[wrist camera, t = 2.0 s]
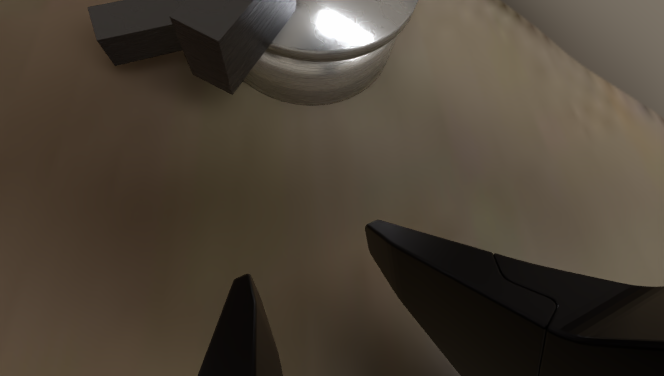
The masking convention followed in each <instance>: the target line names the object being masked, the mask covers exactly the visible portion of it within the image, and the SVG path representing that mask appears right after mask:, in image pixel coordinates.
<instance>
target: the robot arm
mask: <svg viewBox="0 0 664 376" xmlns="http://www.w3.org/2000/svg"><path fill="white" fill-rule="evenodd" d="M365 231H366V237H367V242H368V248H369V251H370V253H371V255H372V257H373V258H374V260H375V262H376V263H377V265H378V266H379V268H380V270H381V271H382V273H383V274H384V276H385V278H386V279H387V281H388V282H389V284H390V286H391V287H392V289H393V290H394V292H395V293H396V295H397V296H398V298H399V299H400V300H401V302H402V303H403V304H404V306H405V307H406V308H407V309H408V311H409V312H410V313H411V314H412V316H413V317H414V318H415V319H416V321H417V322H418V323H419V324H420V326H421V327H422V328H423V329H424V330H425V332H426V333H427V334H428V335H429V337H430V338H431V339H432V340H433V342H434V343H435V344H436V345H437V347H438V348H439V349H440V350H441V352H442V353H443V354H444V355H445V357H446V358H447V359H448V360H449V362H450V363H451V364H452V365H453V367H454V368H455V369H456V370H457V372H458V373H459V374H460V375H461V376H664V286H663V287H646V286H635V285H629V284H623V283H618V282H614V281H609V280H604V279H600V278H595V277H590V276H586V275H581V274H576V273H572V272H567V271H562V270H558V269H553V268H549V267H545V266H540V265H536V264H532V263H528V262H524V261H521V260H517V259H513V258H510V257H506V256H503V255H499V254H496V253H495V254H494V255H493V253H492V252H489V251H485V250H482V249H478V248H475V247H471V246H468V245H464V244H461V243H457V242H454V241H450V240H447V239H444V238H440V237H437V236H433V235H430V234H426V233H423V232H419V231H416V230H412V229H409V228H405V227H402V226H399V225H395V224H392V223H388V222H385V221H381V220H376V221H373V222H371V223H368V224H367V225H366V226H365ZM198 376H283V374H282V369H281V363H280V359H279V354H278V351H277V347H276V344H275V341H274V338H273V335H272V332H271V329H270V325H269V322H268V319H267V316H266V313H265V310H264V307H263V304H262V301H261V298H260V296H259V293H258V291H257V288H256V286H255V284H254V281H253V279H252V277H251V275H250V274H245V275H243V276H241V277H238V278H236V279H235V280H234V281H233V284H232V286H231V289H230V291H229V294H228V297H227V299H226V302H225V305H224V307H223V310H222V313H221V315H220V318H219V321H218V323H217V326H216V329H215V331H214V334H213V337H212V339H211V342H210V344H209V347H208V350H207V352H206V355H205V358H204V360H203V363H202V366H201V368H200V371H199V374H198Z"/></svg>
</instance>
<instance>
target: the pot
mask: <svg viewBox="0 0 664 376" xmlns="http://www.w3.org/2000/svg"><path fill="white" fill-rule="evenodd" d="M184 1H185V0H123V1H117V2H112V3H107V4H102V5H96V6H91V7H88V11H89V14H90V18H91V21H92V25H93V28H94V32H95V35H96V39H97V41H98V43H99V44H100V45H101V47H102V48H103V50H104V51H105V52H106V54H107V55H108V57H109V58H110V59H111V61H112V62H113V64H114V65H115V66H117V65H121V64H125V63H130V62H134V61H138V60H142V59H147V58H151V57H155V56H159V55H164V54H168V53H172V52H177V51H181V50H183V49H182V47H181V44H180V42H179V39H178V37H177V34H176V32H175V29H174V27H173V24H172V22H171V20H170V17H169V16H170V15H171V14H172V13H173V12H174V11H175V10H176V9H177V8H178V7H179V6H180V5H181V4H182V3H183V2H184ZM396 37H397V36H396ZM396 37H395V38H394V39H393V40H391V41H390V42H389V43H388V44H386V45H385V46H383V47H381V48H379V49H377V50H376V51H374V52H371V53H368V54H366V55H363V56H360V57H356V58H352V59H348V60H341V61H334V62H312V61H301V60H296V59H291V58H286V57H282V56H279V55H276V54H272V53H269V52H267V51H265V52H264V53H263V55H262V56H261V57H260V59H259V60H258V61H257V63H256V64H255V65H254V67H253V68H252V69H251V71H250V72H249V73H248V75H247V76H246V77H245V79H244V81H245V82H246V83H248V84H249V85H250V86H252V87H253V88H255V89H256V90H258V91H259V92H261V93H263V94H265V95H267V96H270V97H272V98H275V99H278V100H281V101H284V102H288V103H293V104H300V105H325V104H332V103H336V102H340V101H343V100H346V99H349V98H351V97H353V96H355V95H357V94H359V93H361V92H362V91H364V90H365V89H366V88H368V87H369V86H370V85H371V84H372V83H373V82H374V81H375V80H376V79H377V77H378V76H379V75H380V73H381V72H382V70H383V68H384V66H385V64H386V62H387V59H388V57H389V54H390V52H391V49H392V47H393V45H394V42H395V40H396Z"/></svg>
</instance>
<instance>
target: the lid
mask: <svg viewBox="0 0 664 376" xmlns="http://www.w3.org/2000/svg"><path fill="white" fill-rule="evenodd" d="M417 2H418V0H185V1H184V2H183V3H182V4H181V5H180V6H179V7H178V8H177V9H176V10H175V11H174V12H173V13H172V14H171V15H170V16H169V17H170V20H171V22H172V24H173V27H174V29H175V32H176V34H177V37H178V39H179V42H180V44H181V47H182V49H183V52H184V54H185V57H186V59H187V62H188V64H189V66H190V69H191V71H192V74H193V75H194V76H196V77H198V78H200V79H202V80H204V81H206V82H208V83H210V84H212V85H214V86H216V87H218V88H220V89H222V90H224V91H226V92H228V93H230V94H232V95H233V93H234V92H235V91H236V89H237V88H238V87H239V85H240V84H241V83H242V81H243V80H244V79H245V77H246V76H247V75H248V73H249V72H250V71H251V69H252V68H253V67H254V65H255V64H256V63H257V61H258V60H259V59H260V57H261V56H262V55H263V53H264V52H265V51H267V52H269V53H272V54H276V55H279V56H282V57H286V58H291V59H296V60H301V61H312V62H334V61H341V60H348V59H352V58H356V57H360V56H363V55H366V54H368V53H371V52H374V51H376V50H377V49H379V48H381V47H383V46H385V45H386V44H388V43H389V42H390V41H391V40H393V39H394V38H395V37H396V36H397V35H398V34H399V33H400V32H401V31H402V30H403V29H404V27H405V26H406V24H407V23H408V21H409V20H410V18H411V15H412V13H413V11H414V9H415V6H416V4H417Z"/></svg>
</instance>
